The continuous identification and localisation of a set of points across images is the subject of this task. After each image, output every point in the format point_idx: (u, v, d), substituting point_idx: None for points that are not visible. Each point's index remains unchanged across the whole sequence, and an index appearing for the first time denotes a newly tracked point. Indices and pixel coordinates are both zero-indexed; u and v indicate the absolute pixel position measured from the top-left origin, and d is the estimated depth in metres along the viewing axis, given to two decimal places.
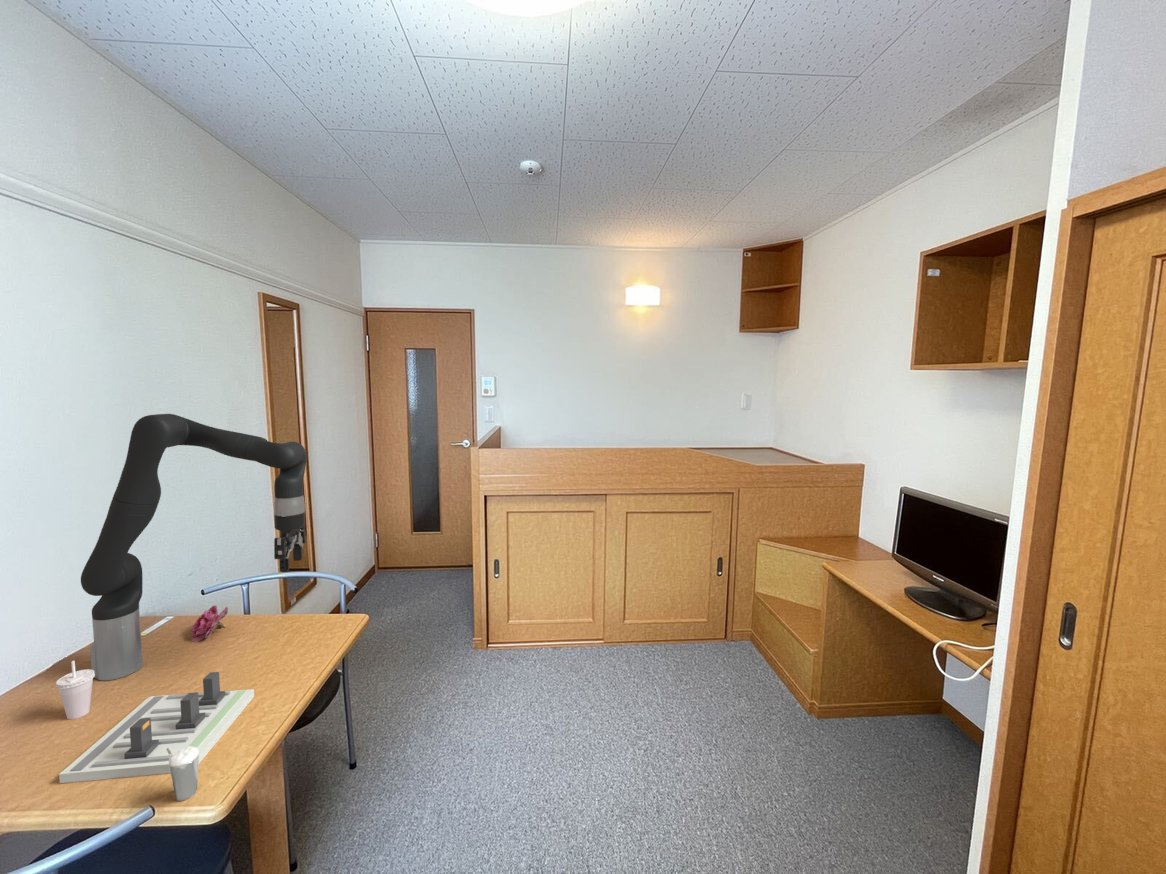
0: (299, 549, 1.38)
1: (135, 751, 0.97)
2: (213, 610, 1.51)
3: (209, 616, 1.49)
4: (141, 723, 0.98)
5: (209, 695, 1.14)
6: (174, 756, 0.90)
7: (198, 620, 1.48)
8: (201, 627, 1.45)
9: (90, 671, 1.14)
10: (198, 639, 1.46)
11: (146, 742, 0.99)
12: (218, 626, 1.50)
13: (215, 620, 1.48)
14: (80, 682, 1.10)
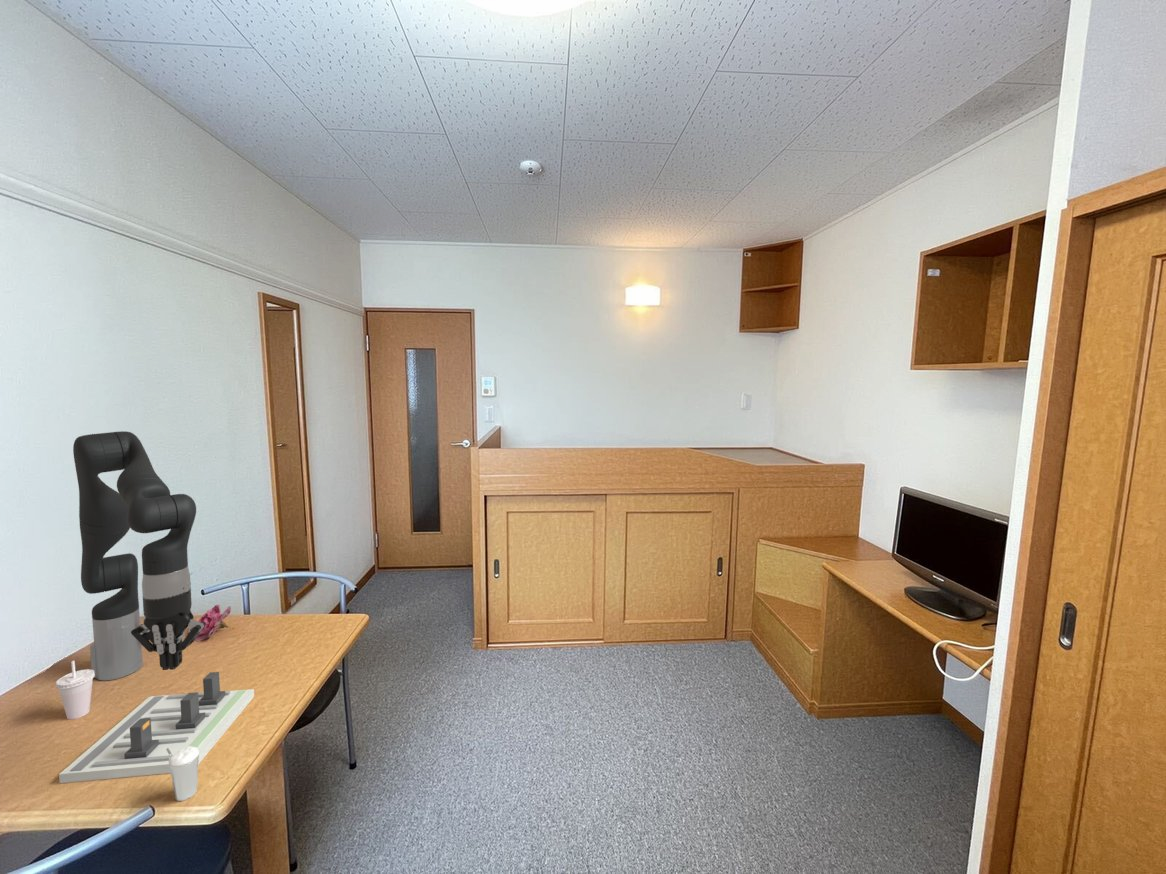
0: None
1: (135, 751, 0.97)
2: (216, 609, 1.52)
3: (212, 615, 1.49)
4: (141, 723, 0.98)
5: (209, 695, 1.14)
6: (174, 756, 0.90)
7: (201, 619, 1.49)
8: None
9: (90, 671, 1.14)
10: (201, 638, 1.46)
11: (146, 742, 0.99)
12: (221, 625, 1.50)
13: (218, 619, 1.49)
14: (80, 682, 1.10)
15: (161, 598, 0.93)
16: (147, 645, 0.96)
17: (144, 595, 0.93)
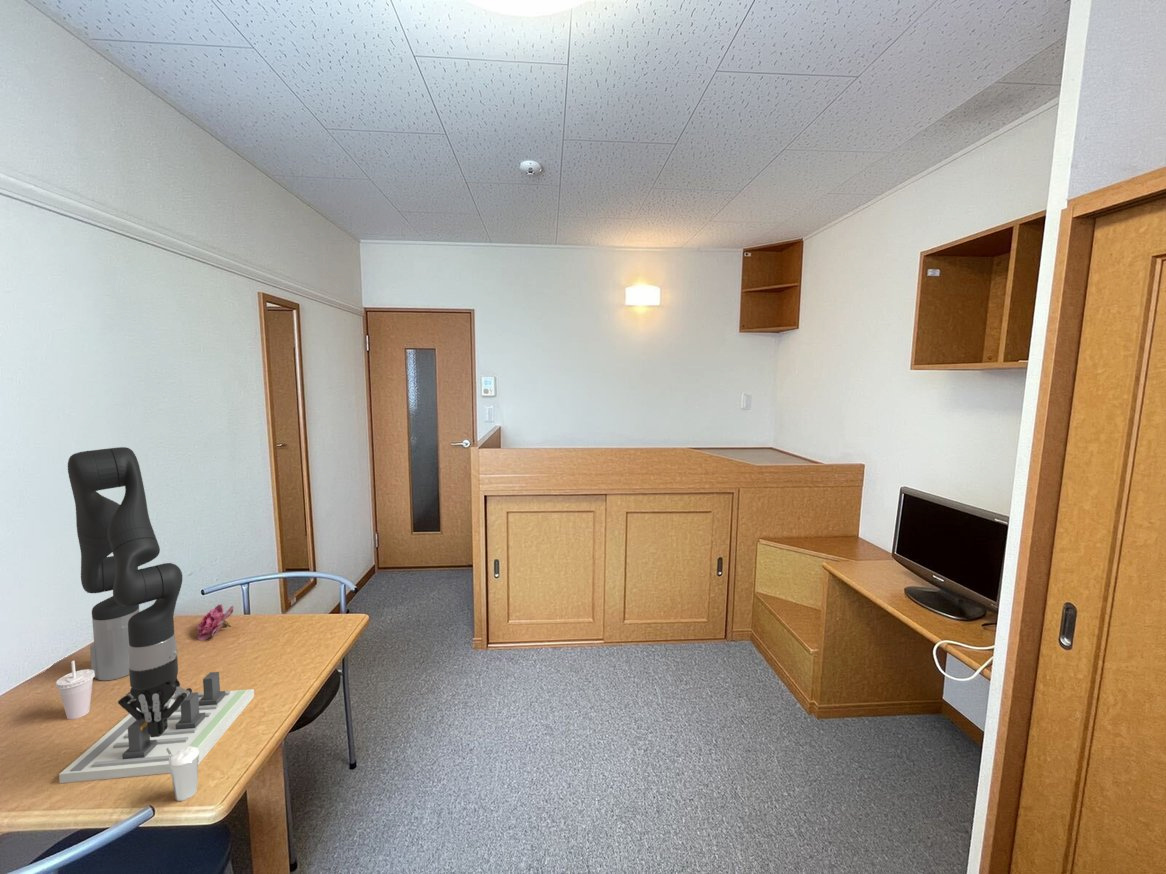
0: None
1: (133, 752, 0.97)
2: (219, 609, 1.52)
3: (215, 615, 1.50)
4: (139, 723, 0.98)
5: (209, 695, 1.14)
6: (174, 756, 0.90)
7: (204, 619, 1.49)
8: (207, 626, 1.46)
9: (90, 671, 1.14)
10: (204, 638, 1.46)
11: (144, 742, 0.99)
12: (224, 625, 1.51)
13: (221, 619, 1.49)
14: (80, 682, 1.10)
15: (147, 669, 0.94)
16: (135, 714, 0.97)
17: (130, 666, 0.94)
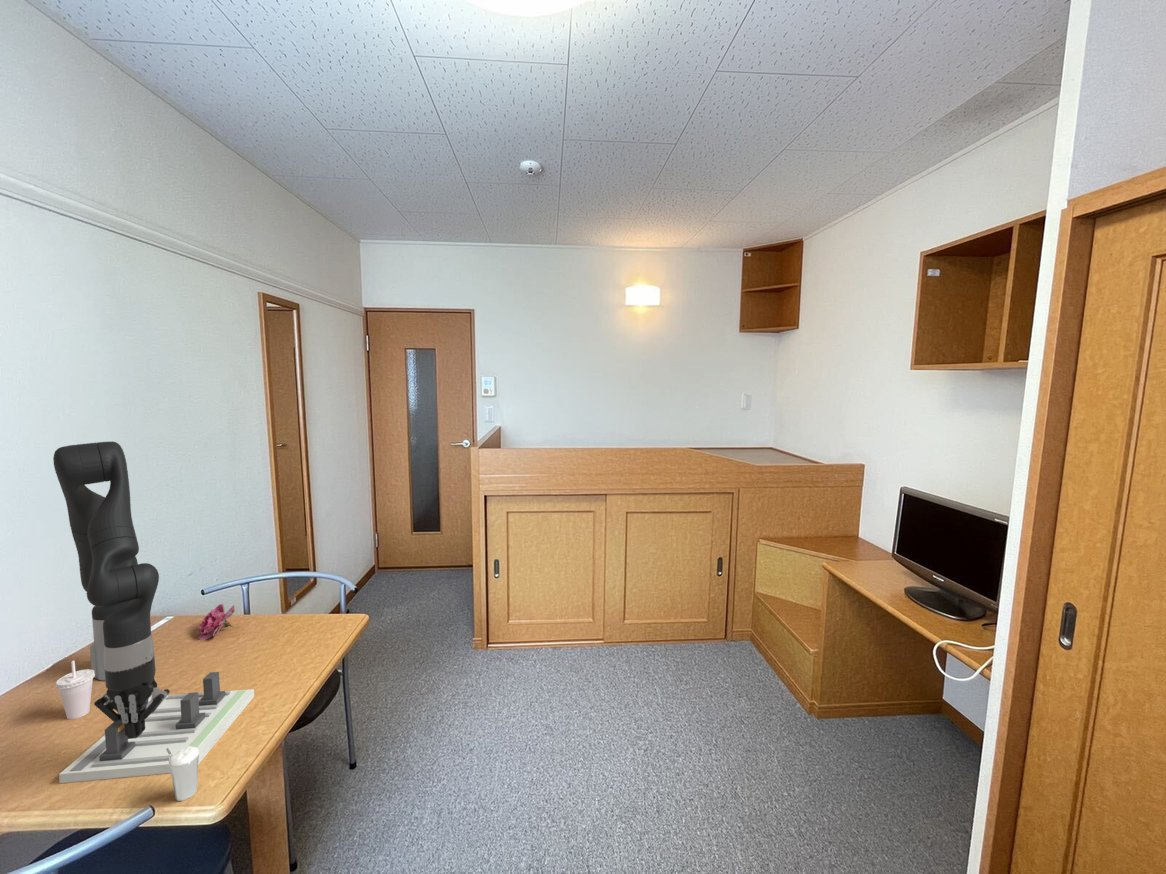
0: None
1: (110, 754, 0.96)
2: (220, 609, 1.52)
3: (216, 615, 1.50)
4: (116, 725, 0.97)
5: (209, 695, 1.14)
6: (174, 756, 0.90)
7: (205, 619, 1.49)
8: (208, 625, 1.46)
9: (90, 671, 1.14)
10: (205, 638, 1.47)
11: (122, 744, 0.98)
12: (225, 624, 1.51)
13: (222, 618, 1.49)
14: (80, 682, 1.10)
15: (123, 670, 0.93)
16: (111, 715, 0.96)
17: (105, 667, 0.93)
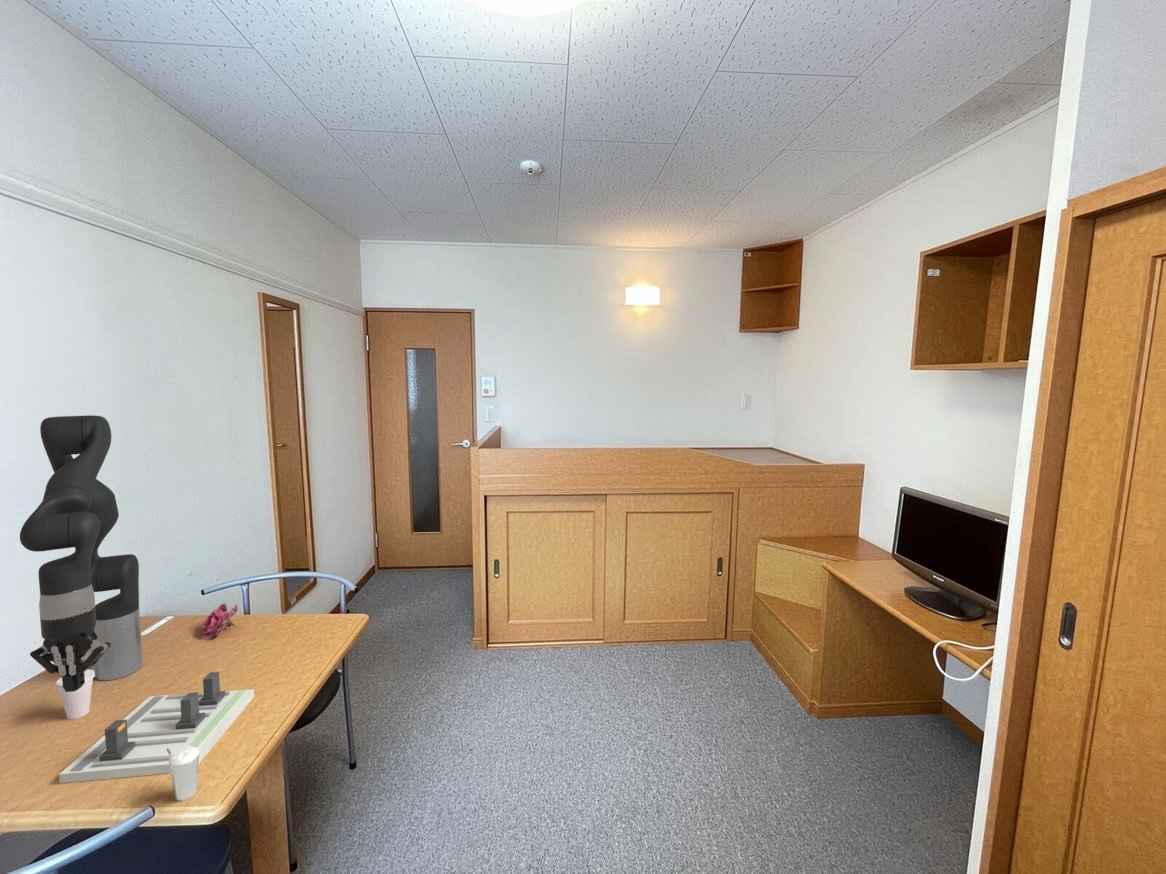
0: None
1: (110, 754, 0.96)
2: (223, 608, 1.53)
3: (219, 614, 1.50)
4: (116, 725, 0.97)
5: (209, 695, 1.14)
6: (174, 756, 0.90)
7: (208, 618, 1.50)
8: (212, 625, 1.46)
9: (90, 671, 1.14)
10: (209, 637, 1.47)
11: (122, 744, 0.98)
12: (228, 624, 1.51)
13: (225, 618, 1.50)
14: None
15: (58, 619, 0.91)
16: (48, 667, 0.93)
17: (41, 616, 0.90)
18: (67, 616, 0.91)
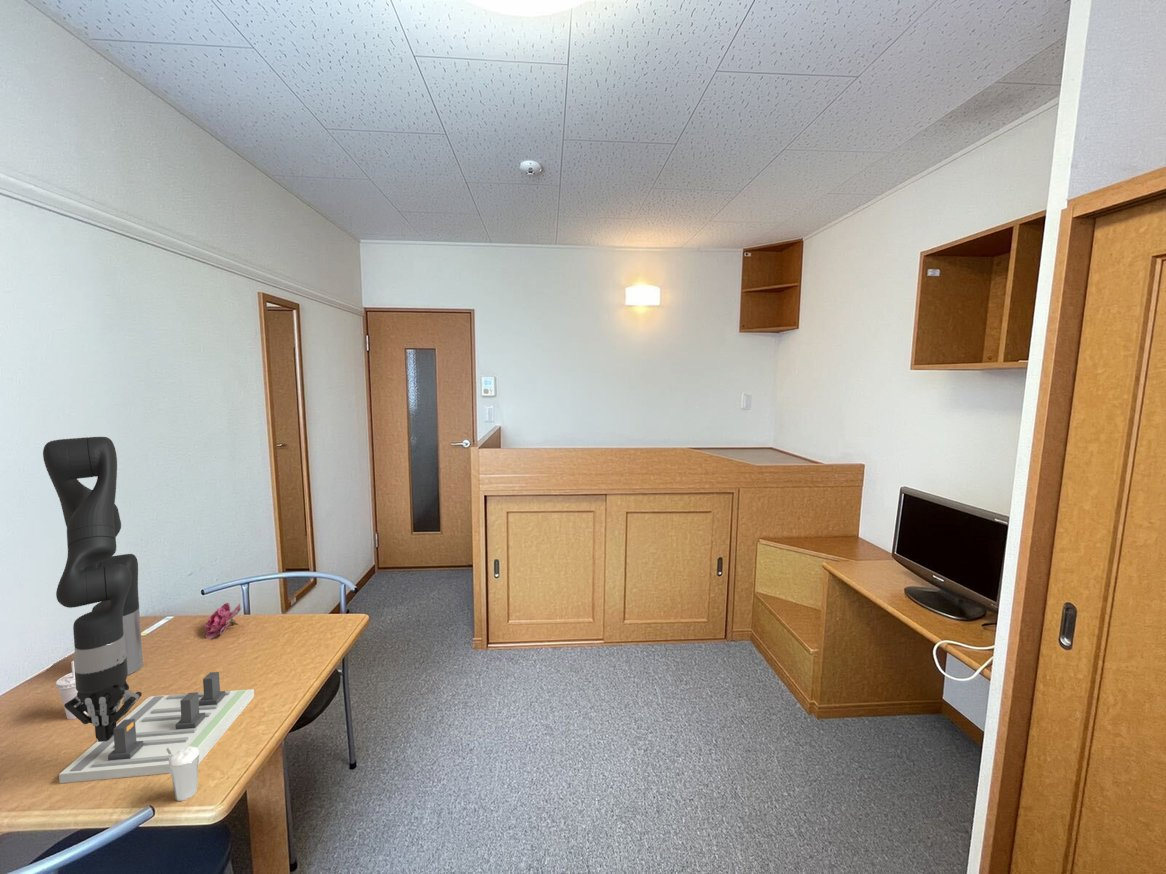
0: None
1: (119, 753, 0.97)
2: (226, 607, 1.53)
3: (222, 613, 1.51)
4: (125, 724, 0.97)
5: (209, 695, 1.14)
6: (174, 756, 0.90)
7: (211, 617, 1.50)
8: (215, 624, 1.47)
9: None
10: (212, 636, 1.48)
11: (130, 743, 0.98)
12: (231, 623, 1.52)
13: (228, 617, 1.50)
14: None
15: (93, 672, 0.92)
16: (82, 717, 0.95)
17: (75, 669, 0.92)
18: (101, 669, 0.93)
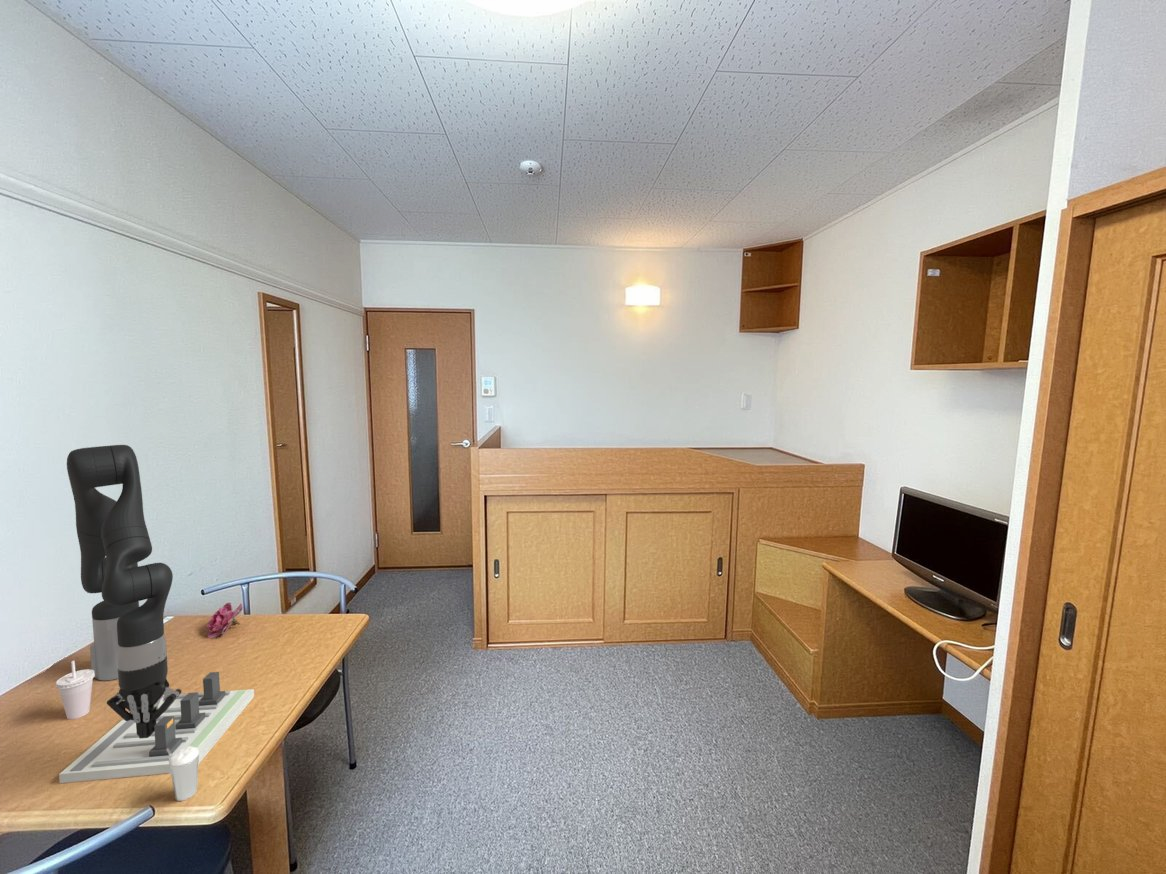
0: None
1: (159, 749, 0.98)
2: (227, 607, 1.54)
3: (224, 613, 1.51)
4: (165, 721, 0.99)
5: (209, 695, 1.14)
6: (174, 756, 0.90)
7: (213, 617, 1.51)
8: (217, 623, 1.47)
9: (90, 671, 1.14)
10: (214, 636, 1.48)
11: (170, 740, 0.99)
12: (233, 622, 1.52)
13: (230, 617, 1.51)
14: (80, 682, 1.10)
15: (136, 669, 0.94)
16: (124, 714, 0.96)
17: (119, 667, 0.93)
18: (143, 666, 0.94)
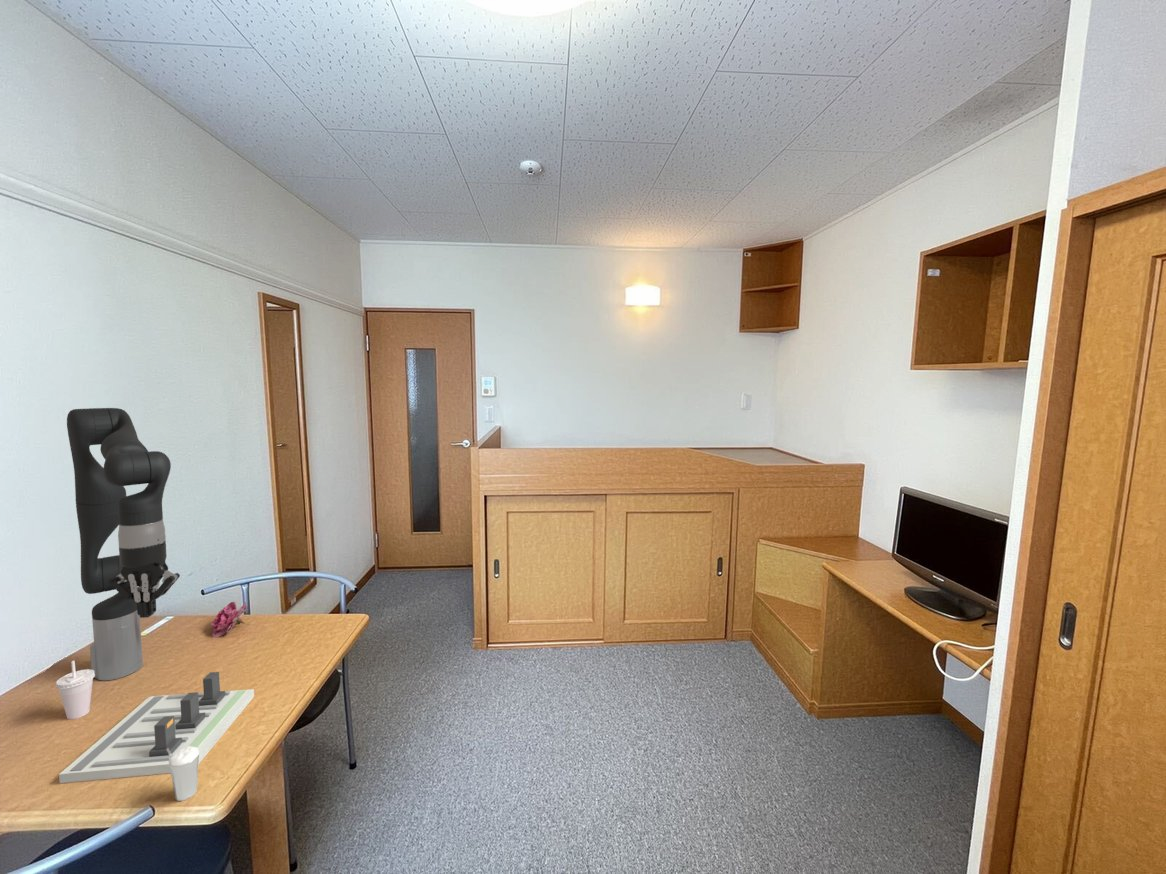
0: None
1: (159, 749, 0.98)
2: (231, 606, 1.54)
3: (228, 612, 1.52)
4: (165, 721, 0.99)
5: (209, 695, 1.14)
6: (174, 756, 0.90)
7: (217, 616, 1.51)
8: (222, 622, 1.48)
9: (90, 671, 1.14)
10: (219, 634, 1.49)
11: (170, 740, 0.99)
12: (237, 621, 1.53)
13: (235, 616, 1.51)
14: (80, 682, 1.10)
15: (136, 548, 0.99)
16: (125, 593, 1.01)
17: (120, 545, 0.98)
18: (143, 546, 0.99)
